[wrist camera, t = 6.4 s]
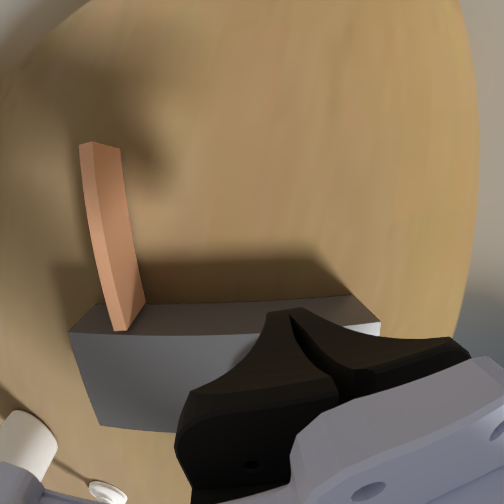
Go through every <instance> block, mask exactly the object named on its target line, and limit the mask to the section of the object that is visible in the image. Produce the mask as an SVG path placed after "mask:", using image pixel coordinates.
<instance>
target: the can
mask: <svg viewBox="0 0 504 504" xmlns="http://www.w3.org/2000/svg"><path fill="white" fill-rule="evenodd" d="M57 449H58V446H57V442H56V439H55V436H54V435H53V433H52V432H51V430H50V429H49V428H48V427H47V426H46V425H45V424H44V423H43V422H42V421H41V420H39V419H38V418H37V417H35V416H34V415H32V414H30V413H28V412H26V411H22V410H15V411H12V412H11V413H10V415H9V416H8V417H7V418H6V420H5V421H4V422H3V423H2V425H1V426H0V463H1V461H3V462H7V463H9V464H12V465H15V466H18V467H21V468H24V469H26V470H28V471H29V472H31V473H32V474H34V475H35V476H36V477H37V478H38V480H39V481H40V482H41V480H42V478H43V476H44V474H45V473H46V471H47V469H48V467H49V465H50V463H51V461H52V459H53V457H54V455H55V453H56V451H57Z"/></svg>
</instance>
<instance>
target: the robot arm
mask: <svg viewBox="0 0 504 504" xmlns="http://www.w3.org/2000/svg"><path fill="white" fill-rule="evenodd" d="M174 449H175V453H176V457H177V459H178V461H179V463H180V465H181V467H182V469H183V471H184V473H185V475H186V477H187V479H188V481H189V483H190V485H191V487H192V494H191V504H504V369H503V368H502V367H500V366H499V365H498V364H497V363H495V362H494V361H493V360H491V359H490V358H489V357H480V358H473V359H472V358H471V356H470V354H469V352H468V351H467V350H466V349H464V348H463V347H462V346H461V345H459V344H458V343H457V342H456V341H454V340H453V339H452V338H451V337H440V338H429V339H398V338H388V337H381V336H374V335H369V334H365V333H361V332H358V331H354V330H351V329H348V328H345V327H343V326H340V325H337V324H335V323H333V322H330V321H328V320H326V319H324V318H322V317H320V316H318V315H316V314H314V313H312V312H310V311H309V310H307V309H305V308H302V307H297V308H291V309H285V310H278V311H272V312H268V313H267V314H266V320H265V324H264V326H263V329H262V331H261V333H260V335H259V337H258V339H257V341H256V342H255V344H254V346H253V347H252V349H251V350H250V351H249V353H248V354H247V355H246V356H245V357H244V358H243V359H242V360H241V361H240V362H239V363H238V364H237V365H236V366H235V367H233V368H232V369H231V370H229V371H228V372H227V373H225V374H224V375H222V376H220V377H219V378H217V379H215V380H213V381H212V382H209V383H207V384H205V385H203V386H201V387H198V388H196V389H194V390H191V391H190V392H189V395H188V397H187V399H186V402H185V404H184V407H183V409H182V412H181V414H180V417H179V421H178V426H177V432H176V437H175V443H174ZM0 504H109V503H103V502H97V501H92V500H88V499H83V498H79V497H74V496H70V495H66V494H63V493H59V492H55V491H52V490H48V489H45V488H44V486H43V485H42V483H41V482H40V481H39V480H38V478H37V477H36V476H35V475H34V474H32V473H31V472H29V471H28V470H26V469H24V468H21V467H18V466H15V465H12V464H9V463H7V462H3V461H1V463H0Z"/></svg>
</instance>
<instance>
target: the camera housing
mask: <svg viewBox="0 0 504 504" xmlns="http://www.w3.org/2000/svg"><path fill="white" fill-rule="evenodd" d="M297 307H302V308H305V309H307V310H309V311H310V312H312V313H314V314H316V315H318V316H320V317H322V318H324V319H326V320H328V321H330V322H333V323H335V324H337V325H340V326H343V327H345V328H348V329H351V330H354V331H358V332H361V333H365V334H369V335H374V336H379V331H380V324H381V321H380V320H379V319H378V318H377V317H376V316H375V315H374V314H373V313H372V312H371V311H370V310H368V309H367V308H366V307H365V306H364V305H363V304H362V303H361V302H360V301H359V300H358V299H357V298H356V297H355V296H354V295H345V296H332V297H319V298H305V299H290V300H273V301H254V302H231V303H201V304H144V306H143V307H142V309H141V310H140V312H139V313H138V315H137V316H136V318H135V319H134V321H133V322H132V324H131V325H130V327H129V328H128V330H125V331H114V329H113V326H112V322H111V319H110V316H109V312H108V308H107V305H106V304H96V305H95V306H94V307H93V308H92V309H91V310H90V311H89V312H88V313H86V314H85V315H84V316H83V317H82V318H81V319H80V320H79V321H78V322H77V323H76V324H75V325H74V326H73V327H72V328H71V330H70V331H69V332H68V334H69V338H70V342H71V345H72V349H73V352H74V355H75V359H76V362H77V365H78V368H79V371H80V374H81V377H82V380H83V383H84V386H85V388H86V391H87V394H88V397H89V399H90V402H91V404H92V407H93V409H94V412H95V414H96V417H97V419H98V421H99V424H100V425H101V426H108V427H115V428H124V429H132V430H143V431H155V432H171V433H176V432H177V426H178V421H179V417H180V414H181V412H182V409H183V407H184V404H185V402H186V399H187V397H188V395H189V392H190V391H191V390H194V389H196V388H198V387H201V386H203V385H205V384H207V383H209V382H212V381H213V380H215V379H217V378H219V377H220V376H222V375H224V374H225V373H227V372H228V371H229V370H231V369H232V368H233V367H235V366H236V365H237V364H238V363H239V362H240V361H241V360H242V359H243V358H244V357H245V356H246V355H247V354H248V353H249V351H250V350H251V349H252V347H253V346H254V344H255V342H256V341H257V339H258V337H259V335H260V333H261V331H262V329H263V326H264V324H265V320H266V314H267V313H268V312H272V311H278V310H285V309H291V308H297Z"/></svg>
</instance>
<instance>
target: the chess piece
mask: <svg viewBox="0 0 504 504" xmlns="http://www.w3.org/2000/svg"><path fill="white" fill-rule="evenodd" d="M89 491H90V493H91V494H92V495H93V496H94V497H95V498H96V499H97V501H98V502H103V503H109V504H125V503H126V501H127V496H126V495H125V494H124V493H123V492H122V491H121V490H120V489H118V488H116V487H114V486H112V485H110V484H107V483H104V482H99V481H93V482H90V484H89Z"/></svg>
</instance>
